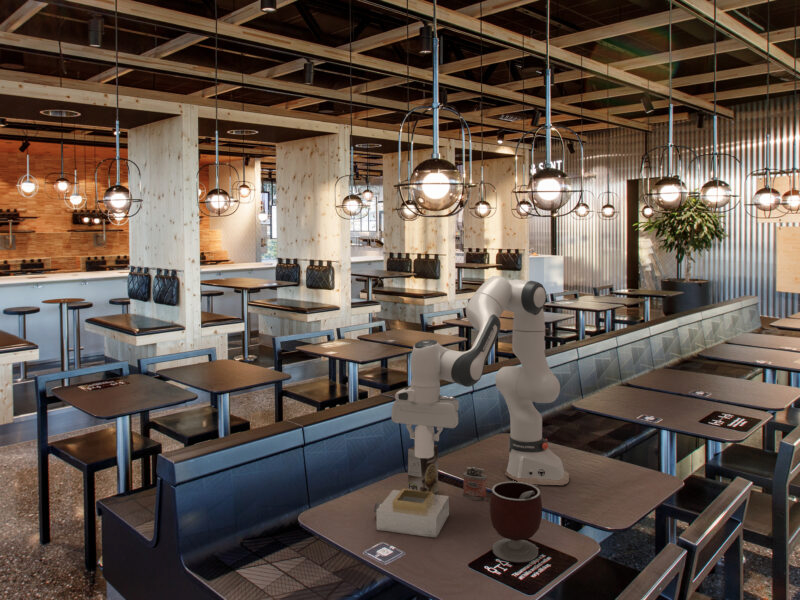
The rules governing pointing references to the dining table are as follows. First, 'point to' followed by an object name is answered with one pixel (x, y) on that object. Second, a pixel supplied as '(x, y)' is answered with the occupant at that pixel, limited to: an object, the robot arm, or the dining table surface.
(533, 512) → the mate gourd
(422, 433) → the roll
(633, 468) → the dining table surface
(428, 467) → the coffee box
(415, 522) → the white box
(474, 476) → the lighter
